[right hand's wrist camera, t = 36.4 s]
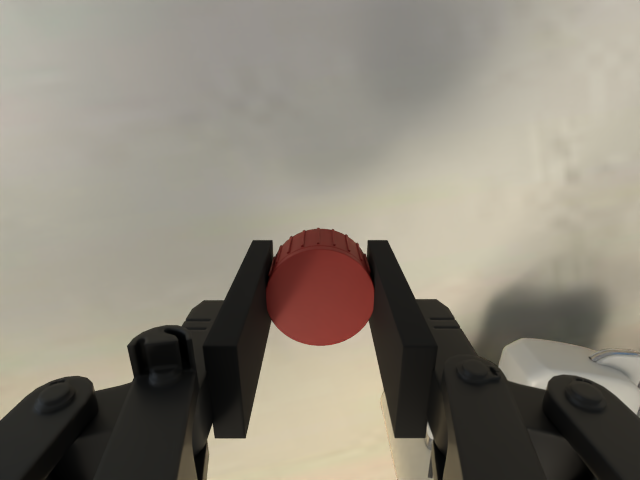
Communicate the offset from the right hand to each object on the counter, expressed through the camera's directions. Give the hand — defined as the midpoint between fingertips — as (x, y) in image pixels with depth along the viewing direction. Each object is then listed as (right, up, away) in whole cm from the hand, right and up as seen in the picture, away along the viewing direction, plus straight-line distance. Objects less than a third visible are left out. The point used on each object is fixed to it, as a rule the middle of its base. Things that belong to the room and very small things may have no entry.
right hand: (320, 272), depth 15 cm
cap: (0, -1, -2) cm, 2 cm away
